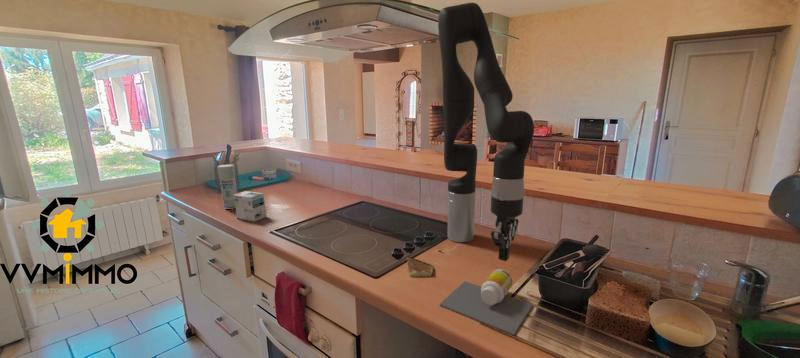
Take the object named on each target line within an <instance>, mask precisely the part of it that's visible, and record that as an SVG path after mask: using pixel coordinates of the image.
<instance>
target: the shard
mask: <svg viewBox="0 0 800 358" xmlns="http://www.w3.org/2000/svg"><path fill="white" fill-rule="evenodd" d="M406 259H407V269H408V273H409V277H411V278H413V277H415V278H416V277H431V276H432V275H433V270H434V269H435V266H434V265H433V264H430V263H427V262H426V261H423V260H420V259H416V258H414V257H411V256H409V255H407V256H406Z"/></svg>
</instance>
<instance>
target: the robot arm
mask: <svg viewBox="0 0 800 358" xmlns="http://www.w3.org/2000/svg"><path fill="white" fill-rule="evenodd" d="M437 20H438V23H437V29H438V39H439V46H440V47H439V48H440V59H441V66H442V67H441V70H442V71H441V72H442V103H443V104H442V108H443V109H442V110H443V121H444V122H443V123H444V141H443V142H444V143H443V144H444V146H443V149H444V150H443V162H444V168H445V170H447V171H448V172H463V173H464V172H466V173H465V174H464V175H463V176H461V177H459V178H456V179H453V180H450V181H449V182H448V184H447V239H448V240H450V241H452V242H455V243H468V242H471V241H473V240H474V238H475V222H476V221H475V219H476V218H475V217H476V216H475V214H476V177H477V165H478V148H477V146H476V145H475V144H473V143H455V141H456V139H457V136H458V135H459V133H460V131H461V130H462V128H463V127H464V126H465V125H466V124H467V122H468V121H469V119H470V118H471V116H472V115H473V112H474V109H475V88H476V90H477V92H478V93H477V94H478V95H479V97H480V100H481V102H482V103H483V107H484V108H483V109H484V116H485V117H484V118H485V123H486V129H487V133H488V134H489V136H490V137H491V139H493V140H494V141H495V142H497V143H501V144H504V143H506V145H505V148H504V149H502V150H501V151H499V152H498V153H495V155H494V157H493V174H492V175H493V176H492V181H491V192H490V193H491V194H490V197H491V198H490V212H491V213H492V214H493V215H494V216H495V217H496V220H495V221H494V222H495V223H494V227H495V231H494V230H492V231H491V232H490V237H491V239H492V241H493V243H494V246H495V247H498V260H500V261H503V262H507V261H508V260H509V259H510V248H511V247H510V246H511V245H512V242H513V241H514V240H515V236H516V232H517V229H518V225H519V219H517V218H516V217H520V216H521V215H522V214H523V210H524V209H523V208H524V194H525V181H524V177H525V163H526V159H527V155H528V152H529V149H530V146H531V144H532V140H533V137H534V133H535V132H534V131H535V124H534V120H533V117H532V116H531V114H530V113H528V112H527V111H524V110H515V111H513V110H511V111H508V109H507V106H509V104H510V103H511V102H512V100H513V98H514V97H513V92H512V89H511V87H510V85H509V83H508V81H507V79H506V77H505V75H504V73H503V70H502V68H501V66H500V64H499V61H498V58H497V54H496V52H495V47H494V43H493V40H492V36H491V33H490V31H489V27H488V24H487V21H486V17H485V14H484V12H483V10H482V7H480V5H479V4H478V3H476V2H466V3H461V4H456V5H455V4H454V5H451V6H445V7H443V8H442V9H440V12H439V14H438V19H437ZM468 42H473V44H474V45H475V46H476V51H477V55H476V60H475V61H476V62H475V65H474V71H473V82H474V85H475V87H474V85H473V82H472V80H471V78H470V77H469V76H468V75H467V73H466V71H465V70H464V69H463V67H462V66H461V64H460V62H459V59H458V56H457V45H459V44H463V43H468Z"/></svg>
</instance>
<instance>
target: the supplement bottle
mask: <svg viewBox="0 0 800 358" xmlns="http://www.w3.org/2000/svg"><path fill="white" fill-rule="evenodd" d="M512 285H513V278H512V275H511V274H510V273H509V272H507V270H504V269H502V268H501V269H500V268H498V269H495V270H493V271H492V272H491V274H489V276H488V277H487V279H486V280H485V281H484V282H483V284H482V285H481V298H482V300H483V301H484V302H485V303H486V304H488V305H494V304H496V303H500V302H501V301H502V300H503V299H504V297H505V295H507V293H508V292H509V290H510V289H511V287H512Z"/></svg>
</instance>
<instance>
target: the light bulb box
mask: <svg viewBox="0 0 800 358" xmlns="http://www.w3.org/2000/svg"><path fill="white" fill-rule="evenodd" d="M234 201H235V208H236V209H235V213H236V214H235V215H236V219H237V218H239V219H238V220H244V221H249V222H254V223H255V222H257V221H260V220H262V219H264V218H267V210H266V202H265V194H264V192H255V191H249V190H247V191H246V190H245V191H242V192H237V194H234Z"/></svg>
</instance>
